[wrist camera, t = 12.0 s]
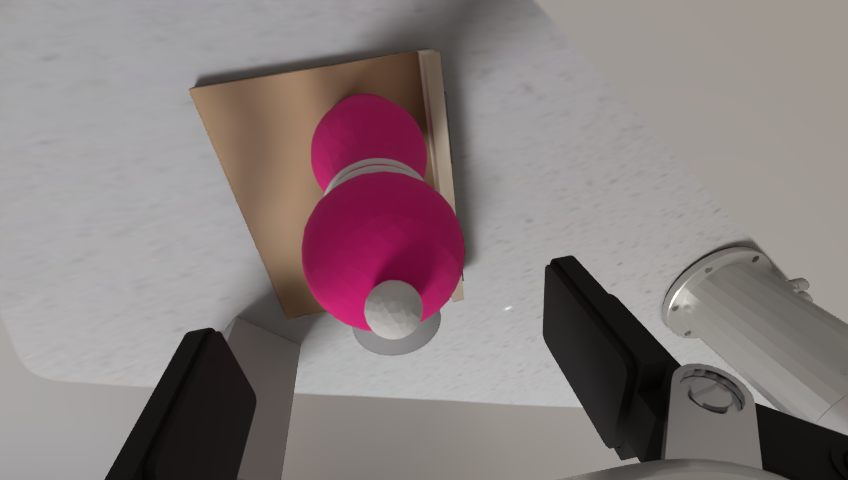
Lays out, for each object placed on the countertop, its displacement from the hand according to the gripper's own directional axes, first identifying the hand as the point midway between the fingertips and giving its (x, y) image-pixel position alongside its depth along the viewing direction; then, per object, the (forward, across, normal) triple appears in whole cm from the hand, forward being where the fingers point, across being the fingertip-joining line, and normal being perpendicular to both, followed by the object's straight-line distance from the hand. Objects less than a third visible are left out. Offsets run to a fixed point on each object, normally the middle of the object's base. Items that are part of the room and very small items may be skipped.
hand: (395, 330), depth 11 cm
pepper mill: (+20, 0, 0) cm, 20 cm away
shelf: (+21, +3, +4) cm, 21 cm away
